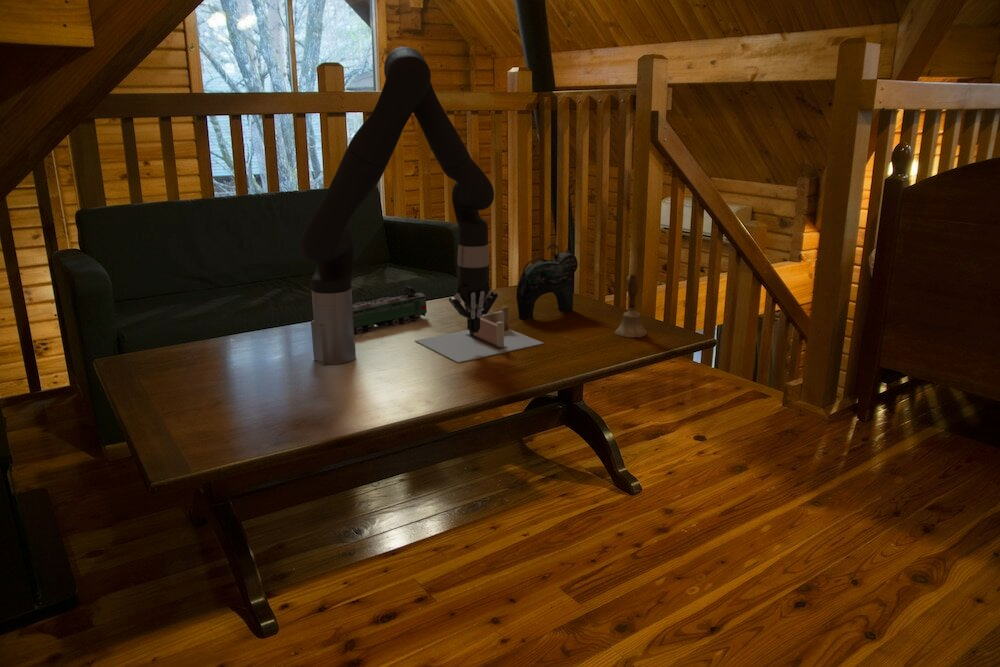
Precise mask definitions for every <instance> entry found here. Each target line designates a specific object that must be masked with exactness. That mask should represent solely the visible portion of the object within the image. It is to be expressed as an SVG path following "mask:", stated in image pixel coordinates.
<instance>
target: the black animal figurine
mask: <svg viewBox="0 0 1000 667" xmlns="http://www.w3.org/2000/svg"><path fill="white" fill-rule="evenodd" d="M551 247H556V249H557V252H552V254H553V255H554V256H553V258H552V259H544V258H541V257H540V258H539V257H536V258H533V259H531V260H530V261H529V260H528V262H526V264H525V265H524V267H523V271H522V273H521V275H520V276H519V277H520V278H519V280H518V283H517V286H516V298H515V299H516V303H517V310H518V318H519V319H522V320H524V321H525V320H531V319H533V318H534V309H535V305H536V303H537V300H538V299H539V298H541V297H542V296H543V295H545V294H549V293H553V294H554V296H555V298H556V303H557V307H558V308H557V310H559V311H560V312H562V313H564V312H570V311H573V308H574V278H573V277H574V274H575V272H576V271H577V270H578V259H577V257H576V255H574V254H572V253H571V251H570V249H569V248H568V247H567V248H566V250H565V252H560V253H559V247H558V245H556V244H554V243H552V244H550V245H548V246H547V249H546V250H547V251H549V250H550V249H551ZM537 260H540V261H538V262H535V263H533V262H534V261H537ZM530 263H532V264H530ZM529 264H530V265H529Z"/></svg>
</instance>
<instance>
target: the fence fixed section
mask: <svg viewBox="0 0 1000 667" xmlns="http://www.w3.org/2000/svg"><path fill="white" fill-rule="evenodd" d="M509 308H510V307H509V306H507V305H504V306H501V310H499V311H494V312H492V311H491V312H488V313H487V314H486V315H485V314H484V315H482V316H481V318H484V319H486V320H489V321H491V322H494V323H496V324H497V322H504V329H510V328H509V323H510V321H509V320H510V317H509V314H510V313H509V310H510V309H509ZM470 336H475V335H474V333H471V332H470Z"/></svg>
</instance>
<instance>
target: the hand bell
mask: <svg viewBox="0 0 1000 667" xmlns="http://www.w3.org/2000/svg"><path fill="white" fill-rule="evenodd" d="M638 290H639V284H638V279H637V274H635V273H631V274H630V277H629V279H628V282H627V291H628V292H627V293H628V297H629V303H628V310H627V311H625V312H624V313H623V315H622V320H621V322H620V324H619V327H618V328H616V329H615V331H614V333H615V335H616V336H618V337H619V336H620V337H622V338H628V337H629V339H635V338H634V337H639V338H643V336H644V337H646V336H647V334H648V332H647V330H646V329H645V328H644V327H643V324H642V318H641V313H640V312H638V311H637V310H636V299H637V298H636V297H637V294H638ZM645 335H646V336H645Z"/></svg>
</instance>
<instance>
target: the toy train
mask: <svg viewBox="0 0 1000 667" xmlns="http://www.w3.org/2000/svg"><path fill="white" fill-rule="evenodd" d="M404 287H405V289H404V291H403V292H402V295H400V296H392V297H391V296H390V295H386V296H380V297H375V298H374V300H373V299H372V298H370V299H365V300H359V301H356V302H355V303H352V305H353V320H354V333H356V334H357V335H360V334H363V332H364V331H369V332H373V331H374V330H375V328H376V326H377V327H384V326H387V325H392V326H393V327H397V326H398V325H399V324H400V323H403V324H408V323H411V321H413V320H414V322H419V321H421V318H422V317H421V316H423V317H425V316H426V314H427V313H428V312H427V311H428V310H427V308H428V307H427V296H426V295H425V294H424V293H422V292H417V291H416V290H414V287H413V286H409V285H405V286H404ZM375 325H376V326H375Z"/></svg>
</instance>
